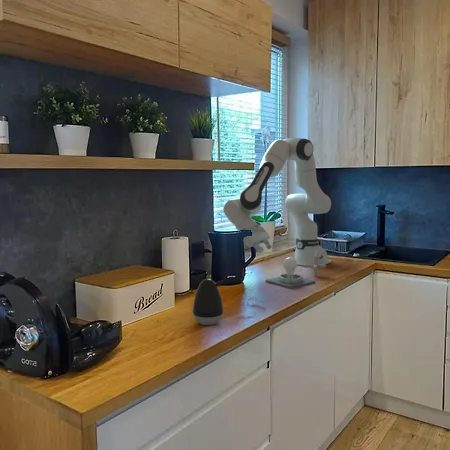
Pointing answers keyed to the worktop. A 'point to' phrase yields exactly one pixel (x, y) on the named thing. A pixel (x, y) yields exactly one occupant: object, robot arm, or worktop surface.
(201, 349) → the worktop surface
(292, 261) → the lightbulb
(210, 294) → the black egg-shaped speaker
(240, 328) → the worktop surface
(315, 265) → the pipe connector
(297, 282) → the collar board
